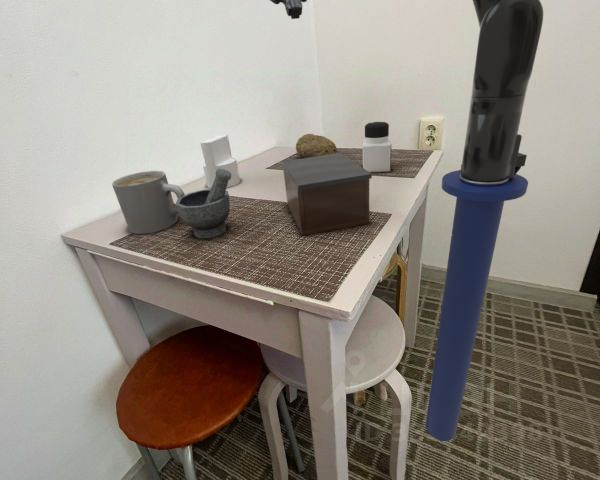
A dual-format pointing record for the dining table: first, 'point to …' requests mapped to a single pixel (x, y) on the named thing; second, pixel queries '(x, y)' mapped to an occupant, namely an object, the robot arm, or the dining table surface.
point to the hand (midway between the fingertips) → (296, 14)
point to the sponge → (315, 146)
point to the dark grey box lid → (324, 171)
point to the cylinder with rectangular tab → (219, 159)
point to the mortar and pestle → (207, 207)
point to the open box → (328, 205)
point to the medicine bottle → (377, 147)
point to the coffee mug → (147, 201)
